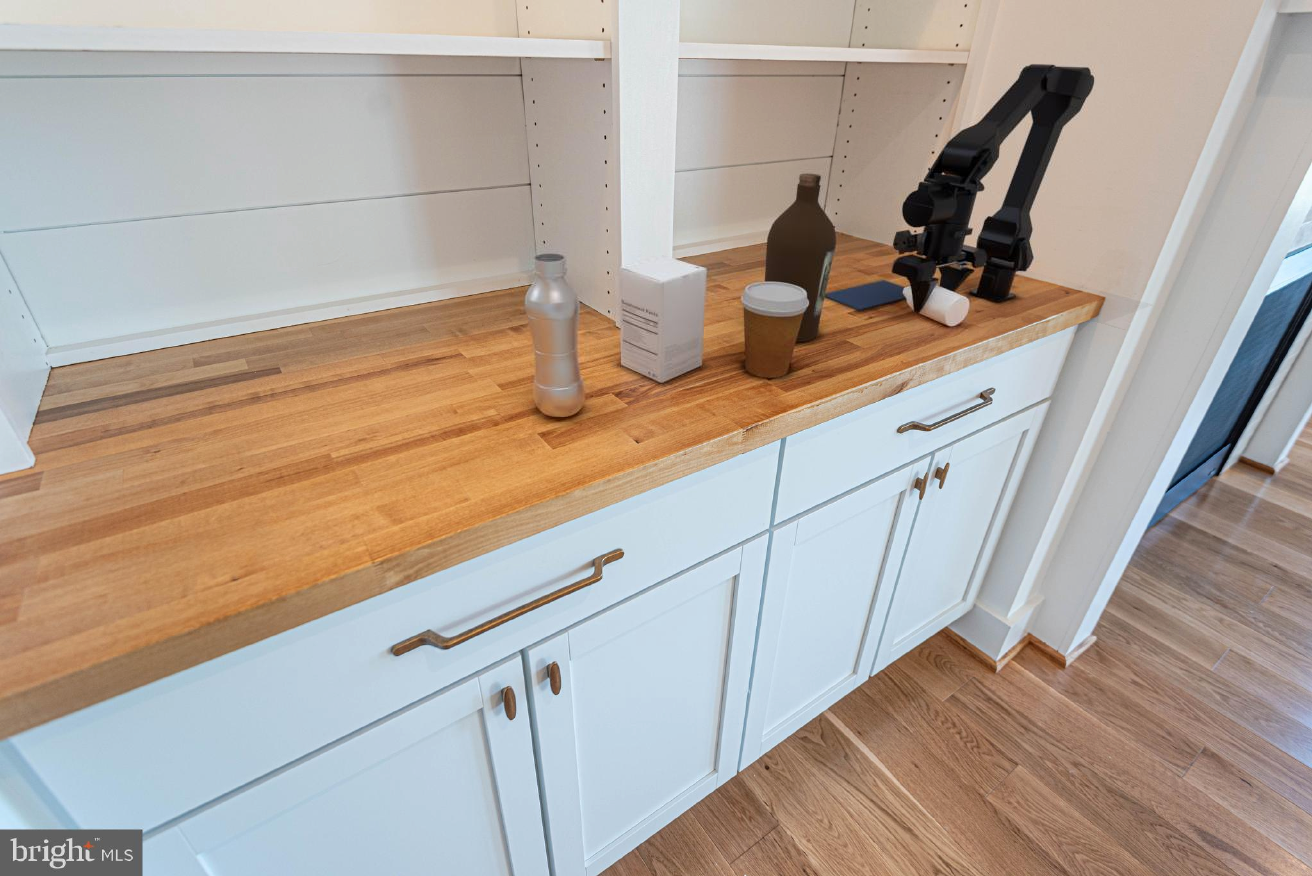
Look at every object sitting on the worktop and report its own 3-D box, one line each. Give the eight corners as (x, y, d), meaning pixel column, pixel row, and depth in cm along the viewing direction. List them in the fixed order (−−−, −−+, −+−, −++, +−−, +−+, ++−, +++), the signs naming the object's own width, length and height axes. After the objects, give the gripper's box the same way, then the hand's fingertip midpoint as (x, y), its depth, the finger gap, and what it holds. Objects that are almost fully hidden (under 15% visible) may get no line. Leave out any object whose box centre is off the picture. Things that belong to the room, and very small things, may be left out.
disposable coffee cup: (779, 389, 89) (790, 307, 83) (722, 370, 94) (728, 292, 88) (809, 367, 96) (821, 289, 90) (754, 350, 101) (762, 276, 94)
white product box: (661, 348, 101) (663, 253, 93) (703, 366, 95) (709, 267, 88) (618, 364, 95) (617, 265, 87) (660, 384, 90) (663, 280, 82)
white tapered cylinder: (913, 302, 122) (920, 274, 119) (965, 323, 113) (974, 293, 110) (890, 307, 119) (897, 277, 116) (941, 329, 110) (949, 297, 107)
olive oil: (754, 340, 104) (771, 178, 91) (760, 318, 113) (777, 167, 100) (820, 347, 102) (847, 183, 89) (821, 324, 111) (846, 171, 98)
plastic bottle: (564, 428, 79) (554, 269, 68) (523, 413, 82) (507, 259, 72) (595, 407, 84) (590, 256, 73) (556, 394, 87) (545, 246, 76)
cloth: (883, 281, 133) (883, 280, 133) (921, 294, 126) (922, 293, 126) (822, 295, 124) (822, 294, 124) (859, 310, 118) (859, 308, 117)
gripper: (944, 206, 117) (924, 288, 126) (876, 216, 109) (859, 304, 117) (1000, 218, 110) (974, 305, 118) (931, 230, 101) (908, 323, 109)
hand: (928, 308), depth 115 cm, fingers closed on white tapered cylinder, 6 cm apart
